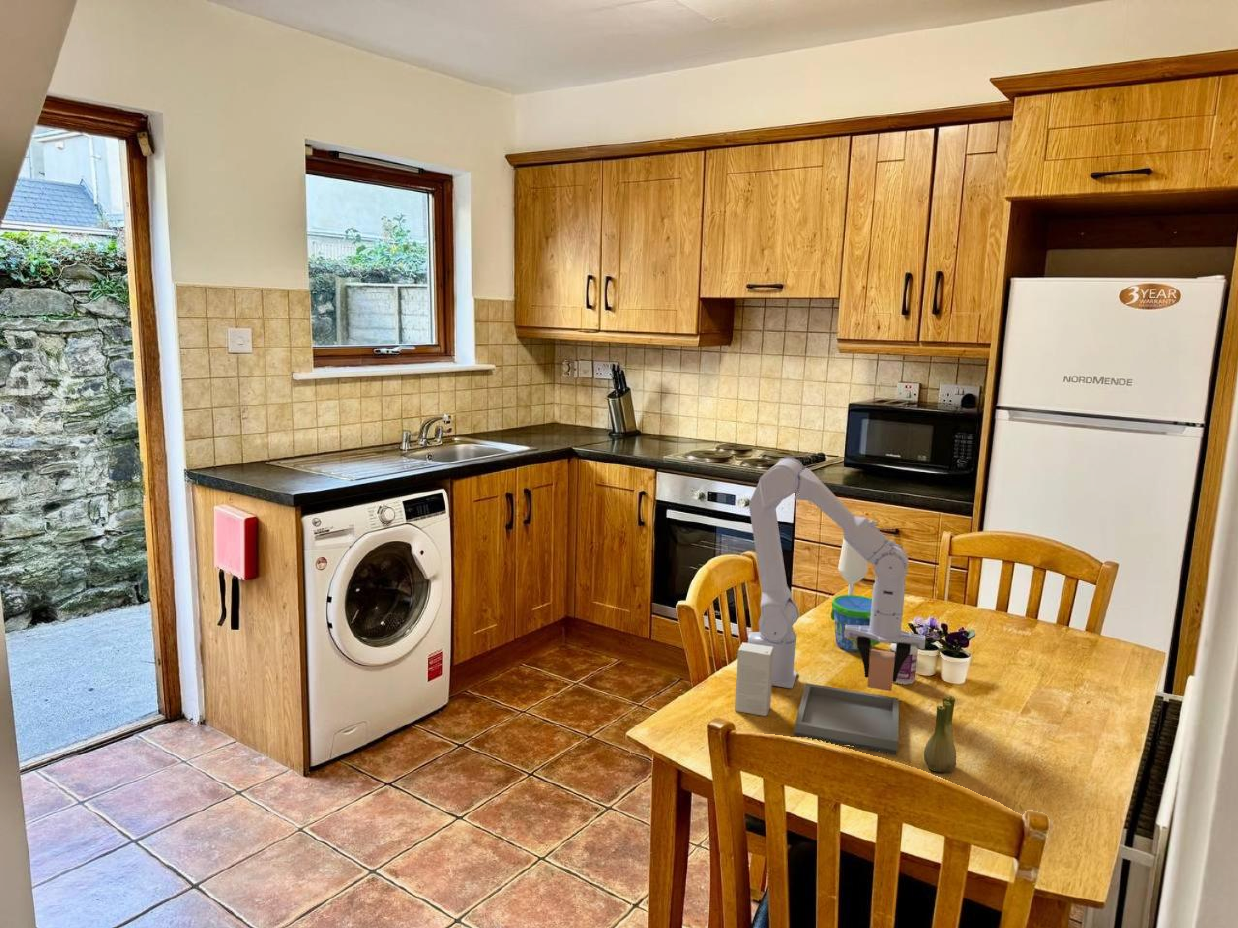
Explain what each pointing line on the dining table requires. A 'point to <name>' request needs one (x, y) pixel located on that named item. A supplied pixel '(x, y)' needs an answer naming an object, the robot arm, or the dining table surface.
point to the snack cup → (850, 618)
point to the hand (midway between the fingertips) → (880, 677)
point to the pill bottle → (906, 666)
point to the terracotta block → (881, 670)
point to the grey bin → (849, 718)
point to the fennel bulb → (942, 740)
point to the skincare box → (754, 679)
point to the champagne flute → (851, 566)
